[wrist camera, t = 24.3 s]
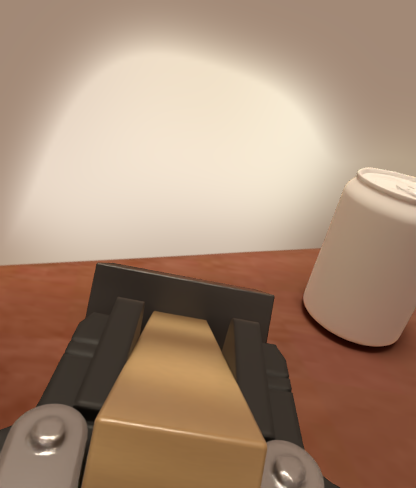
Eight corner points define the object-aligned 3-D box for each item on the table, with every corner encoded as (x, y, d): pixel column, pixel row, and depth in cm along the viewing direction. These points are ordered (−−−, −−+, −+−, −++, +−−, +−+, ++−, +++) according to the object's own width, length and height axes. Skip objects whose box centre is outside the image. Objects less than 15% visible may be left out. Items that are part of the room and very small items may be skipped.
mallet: (438, 654, 5) (479, 361, 6) (-170, 574, 5) (-94, 258, 5) (244, 362, 21) (257, 289, 22) (96, 337, 21) (112, 262, 21)
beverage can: (336, 283, 38) (386, 164, 33) (414, 335, 33) (488, 204, 28) (281, 301, 33) (329, 166, 28) (362, 366, 28) (440, 214, 23)
